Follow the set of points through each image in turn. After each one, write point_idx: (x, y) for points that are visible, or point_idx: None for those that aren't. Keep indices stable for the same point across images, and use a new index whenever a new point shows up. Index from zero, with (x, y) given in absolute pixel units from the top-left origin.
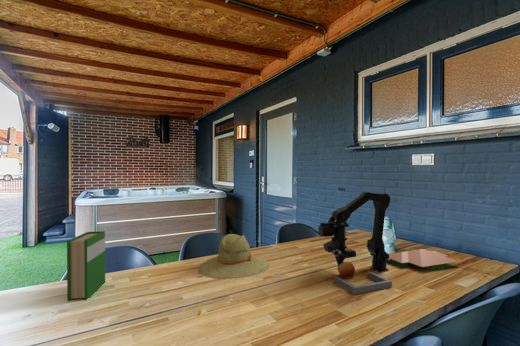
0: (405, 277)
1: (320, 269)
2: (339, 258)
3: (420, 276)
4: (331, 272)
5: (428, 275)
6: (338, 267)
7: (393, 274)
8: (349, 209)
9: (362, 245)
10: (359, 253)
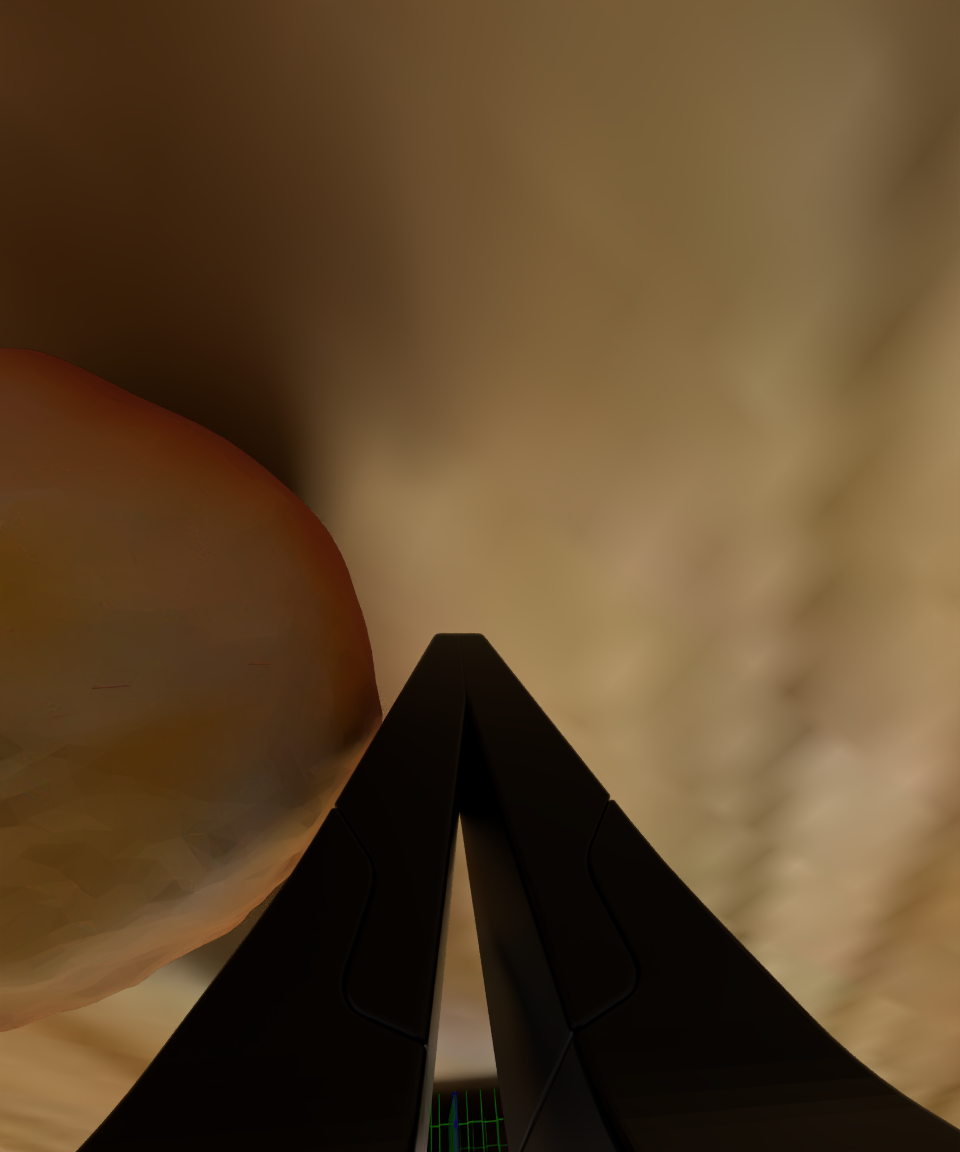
0: (33, 1059)
1: (952, 217)
2: (198, 1011)
3: (57, 1116)
4: (560, 379)
5: (80, 1141)
6: (92, 475)
7: (147, 1030)
8: None
9: (932, 1095)
10: (838, 1039)
